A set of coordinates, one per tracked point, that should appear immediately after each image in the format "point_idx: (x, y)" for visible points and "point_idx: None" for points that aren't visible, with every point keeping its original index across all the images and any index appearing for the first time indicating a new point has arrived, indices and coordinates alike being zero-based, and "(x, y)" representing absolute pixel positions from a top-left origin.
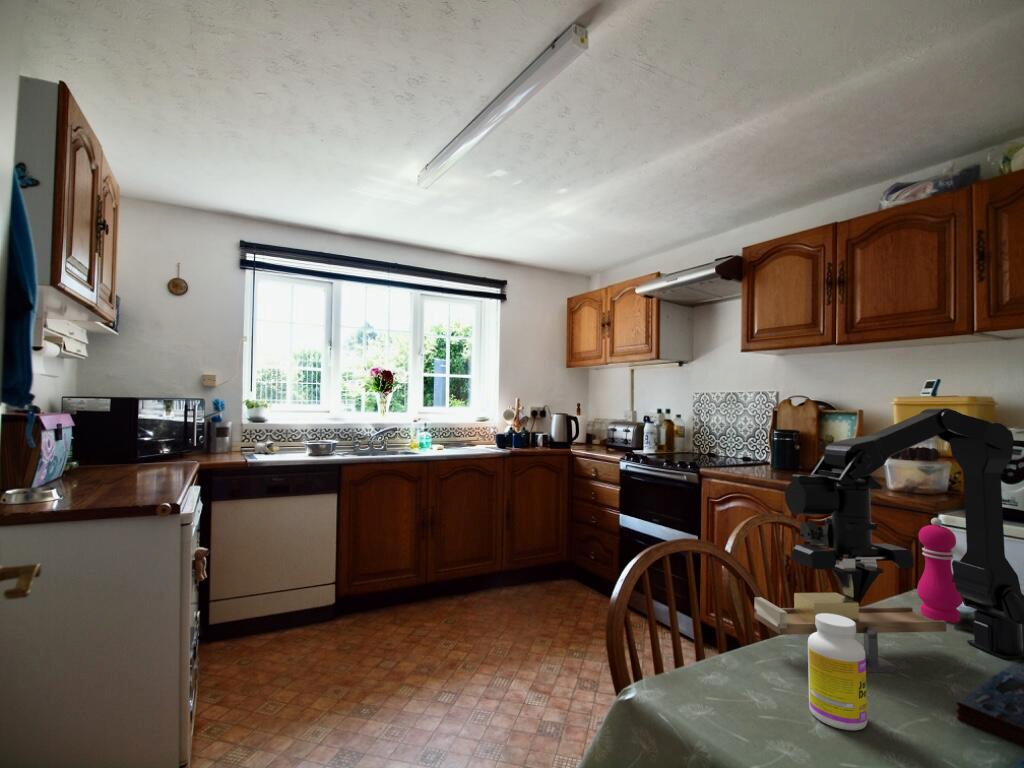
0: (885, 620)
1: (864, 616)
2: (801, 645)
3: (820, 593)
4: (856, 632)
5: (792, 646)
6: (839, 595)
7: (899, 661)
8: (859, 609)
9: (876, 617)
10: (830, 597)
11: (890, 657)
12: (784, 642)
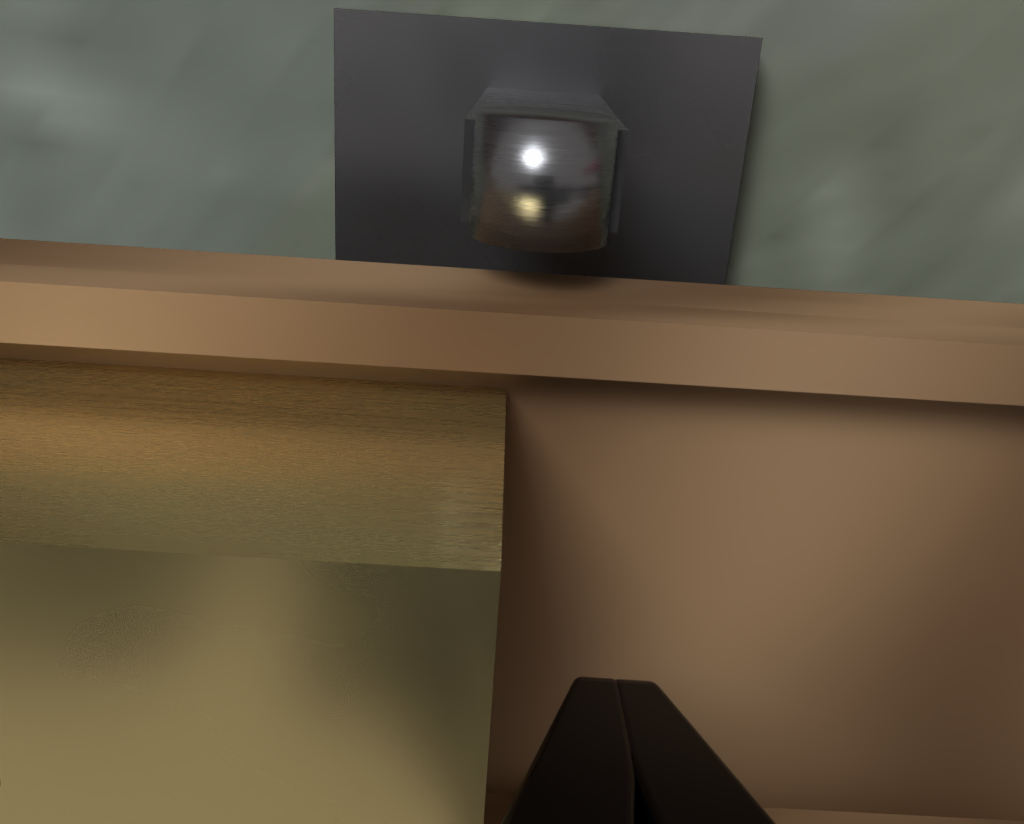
0: (1012, 697)
1: (845, 557)
2: (166, 120)
3: (28, 585)
4: None
5: (46, 127)
6: (412, 735)
7: None
8: (987, 401)
9: (996, 606)
10: (97, 812)
11: None
12: (8, 10)
